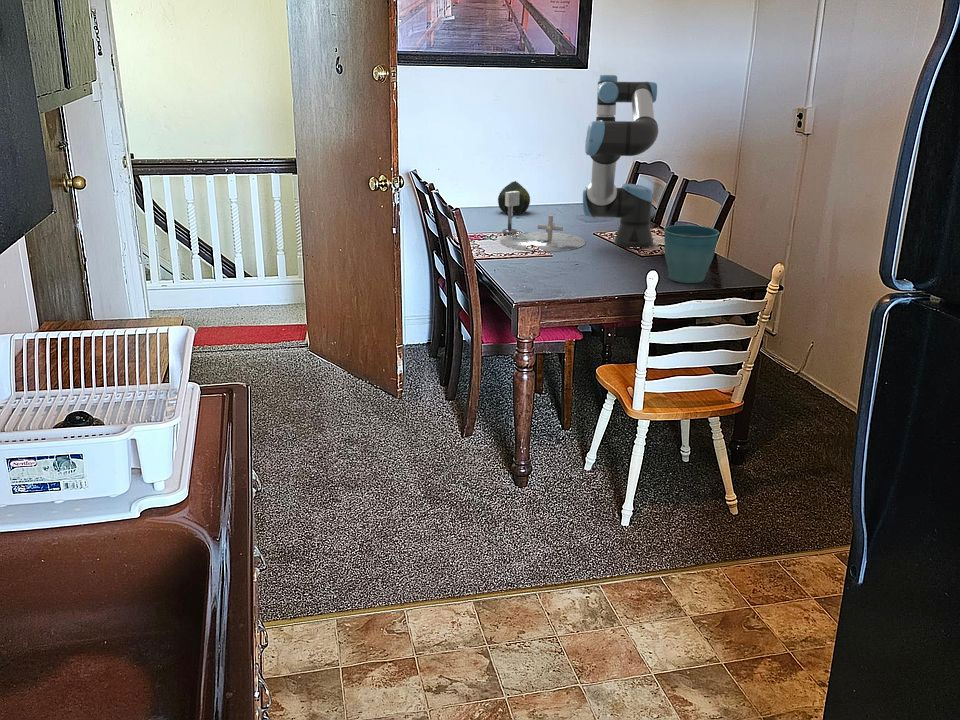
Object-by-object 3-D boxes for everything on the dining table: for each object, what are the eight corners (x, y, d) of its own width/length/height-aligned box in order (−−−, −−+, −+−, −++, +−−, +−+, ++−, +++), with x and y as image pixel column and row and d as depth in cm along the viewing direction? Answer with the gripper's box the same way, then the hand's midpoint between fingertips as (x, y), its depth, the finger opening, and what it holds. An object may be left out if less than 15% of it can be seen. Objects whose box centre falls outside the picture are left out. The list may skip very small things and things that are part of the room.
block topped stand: (519, 233, 360) (520, 191, 354) (508, 234, 356) (508, 193, 350) (510, 230, 364) (511, 189, 358) (499, 232, 361) (500, 191, 355)
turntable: (602, 244, 341) (603, 243, 341) (536, 255, 323) (536, 254, 323) (548, 229, 367) (548, 228, 367) (484, 239, 349) (484, 238, 349)
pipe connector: (564, 237, 350) (565, 213, 346) (559, 244, 341) (561, 219, 337) (540, 235, 352) (541, 211, 348) (535, 241, 343) (536, 217, 339)
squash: (510, 205, 388) (525, 178, 391) (487, 202, 399) (502, 175, 401) (526, 223, 398) (541, 196, 401) (504, 219, 408) (518, 193, 411)
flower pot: (705, 272, 301) (710, 224, 295) (721, 286, 284) (726, 236, 278) (654, 272, 301) (658, 224, 295) (667, 286, 284) (671, 236, 278)
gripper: (611, 114, 346) (608, 173, 354) (587, 116, 339) (584, 176, 347) (624, 115, 340) (620, 175, 348) (600, 117, 333) (596, 178, 341)
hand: (602, 176), depth 348 cm, fingers closed
